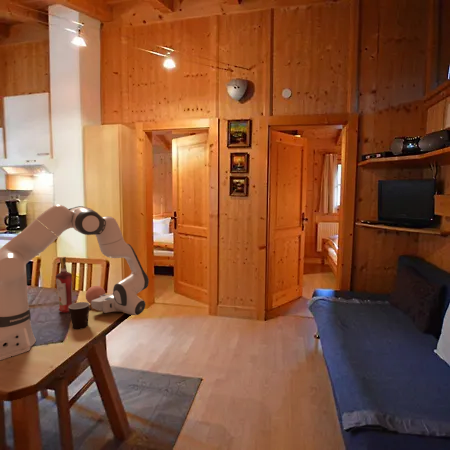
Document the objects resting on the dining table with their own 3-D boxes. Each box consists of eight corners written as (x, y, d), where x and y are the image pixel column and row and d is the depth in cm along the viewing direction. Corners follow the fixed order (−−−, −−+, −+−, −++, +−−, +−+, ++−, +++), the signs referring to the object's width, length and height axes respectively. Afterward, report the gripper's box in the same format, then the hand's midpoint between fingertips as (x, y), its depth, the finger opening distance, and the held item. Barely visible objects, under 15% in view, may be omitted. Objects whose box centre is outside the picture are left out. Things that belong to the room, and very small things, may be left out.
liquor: (55, 312, 167) (51, 258, 163) (67, 307, 173) (64, 255, 170) (64, 314, 163) (60, 259, 160) (77, 309, 170) (74, 256, 166)
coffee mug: (82, 331, 145) (81, 309, 144) (65, 329, 147) (64, 308, 146) (98, 320, 156) (97, 300, 155) (81, 319, 158) (80, 299, 157)
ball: (89, 286, 171) (80, 290, 177) (94, 305, 170) (84, 308, 176) (106, 282, 179) (96, 285, 185) (111, 300, 178) (101, 302, 184)
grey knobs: (82, 313, 165) (81, 311, 165) (77, 312, 167) (77, 309, 167) (119, 299, 185) (119, 297, 185) (115, 298, 187) (115, 296, 187)
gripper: (134, 289, 175) (117, 285, 183) (101, 301, 158) (84, 296, 166) (134, 301, 176) (117, 296, 184) (102, 314, 159) (84, 308, 167)
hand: (101, 296), depth 175 cm, fingers closed, pressing on ball
